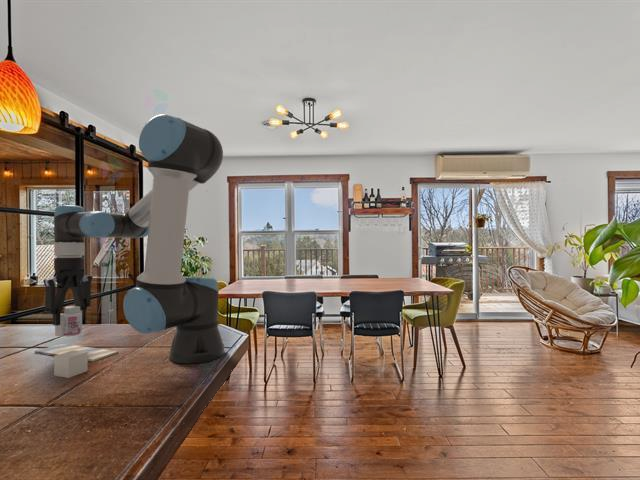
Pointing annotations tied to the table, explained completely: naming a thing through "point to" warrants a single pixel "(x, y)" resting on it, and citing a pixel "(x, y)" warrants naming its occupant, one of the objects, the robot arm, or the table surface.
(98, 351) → the track
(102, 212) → the robot arm
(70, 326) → the pill bottle
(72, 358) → the blank white cube
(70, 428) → the table surface
